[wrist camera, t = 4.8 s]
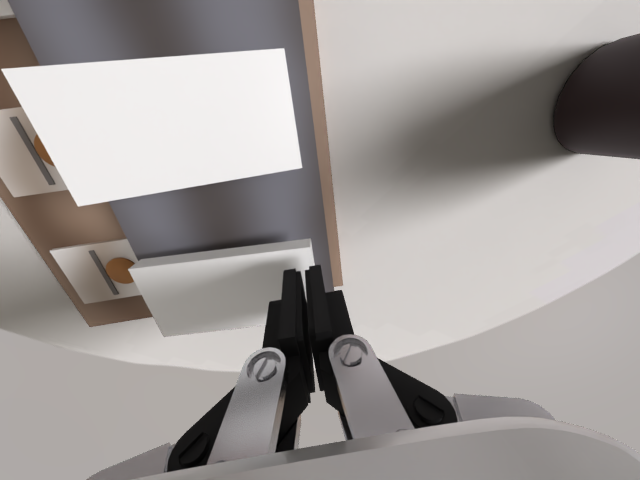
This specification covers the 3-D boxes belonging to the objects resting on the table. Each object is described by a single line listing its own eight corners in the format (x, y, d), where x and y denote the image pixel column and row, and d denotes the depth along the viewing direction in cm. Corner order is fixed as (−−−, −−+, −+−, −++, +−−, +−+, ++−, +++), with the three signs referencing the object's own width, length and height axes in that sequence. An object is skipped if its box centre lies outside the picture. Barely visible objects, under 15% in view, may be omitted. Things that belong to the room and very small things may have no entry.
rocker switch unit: (288, -217, 10) (285, -401, 7) (340, 278, 21) (350, 310, 17) (-223, -175, 10) (-533, -356, 6) (98, 318, 20) (56, 359, 17)
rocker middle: (280, 55, 10) (284, 48, 10) (298, 165, 12) (302, 168, 11) (25, 75, 9) (0, 68, 8) (91, 200, 11) (78, 206, 10)
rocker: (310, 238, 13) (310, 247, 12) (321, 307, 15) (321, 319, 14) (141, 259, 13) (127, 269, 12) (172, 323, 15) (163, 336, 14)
